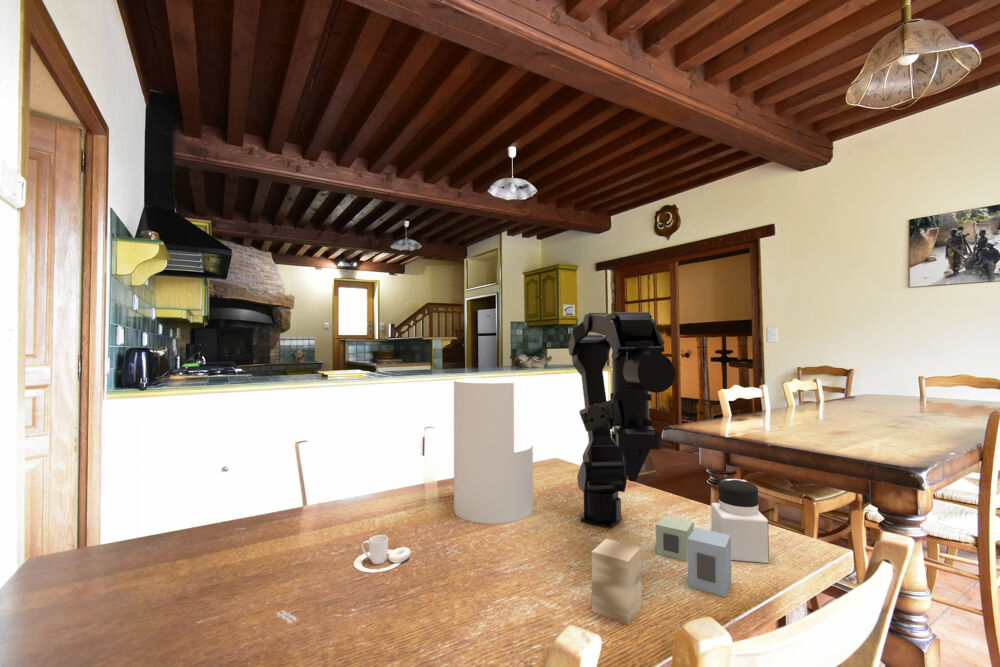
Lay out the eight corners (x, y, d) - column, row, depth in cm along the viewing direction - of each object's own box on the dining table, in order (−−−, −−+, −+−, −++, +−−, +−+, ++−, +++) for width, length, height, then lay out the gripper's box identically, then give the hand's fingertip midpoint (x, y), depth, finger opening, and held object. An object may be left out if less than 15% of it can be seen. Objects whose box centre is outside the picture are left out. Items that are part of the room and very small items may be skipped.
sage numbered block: (655, 554, 77) (655, 524, 78) (664, 543, 82) (664, 515, 82) (686, 562, 74) (686, 531, 75) (694, 550, 79) (693, 521, 79)
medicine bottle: (769, 564, 74) (768, 489, 74) (722, 560, 75) (721, 487, 75) (754, 545, 81) (753, 477, 81) (711, 541, 82) (710, 474, 82)
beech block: (592, 611, 61) (591, 551, 61) (606, 595, 65) (606, 538, 65) (628, 625, 58) (628, 561, 58) (641, 606, 62) (641, 547, 62)
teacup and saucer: (416, 557, 77) (416, 532, 78) (390, 580, 70) (390, 553, 70) (372, 549, 80) (372, 526, 80) (343, 570, 73) (343, 545, 73)
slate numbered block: (687, 587, 67) (687, 539, 67) (695, 572, 71) (695, 527, 71) (725, 598, 64) (724, 548, 64) (731, 582, 68) (730, 535, 68)
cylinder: (476, 530, 87) (475, 384, 88) (441, 503, 102) (441, 379, 103) (549, 513, 96) (548, 380, 97) (507, 490, 111) (506, 376, 112)
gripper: (580, 381, 86) (581, 464, 86) (584, 391, 68) (585, 497, 68) (640, 382, 85) (642, 466, 84) (661, 392, 66) (663, 500, 66)
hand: (632, 480), depth 76 cm, fingers closed
